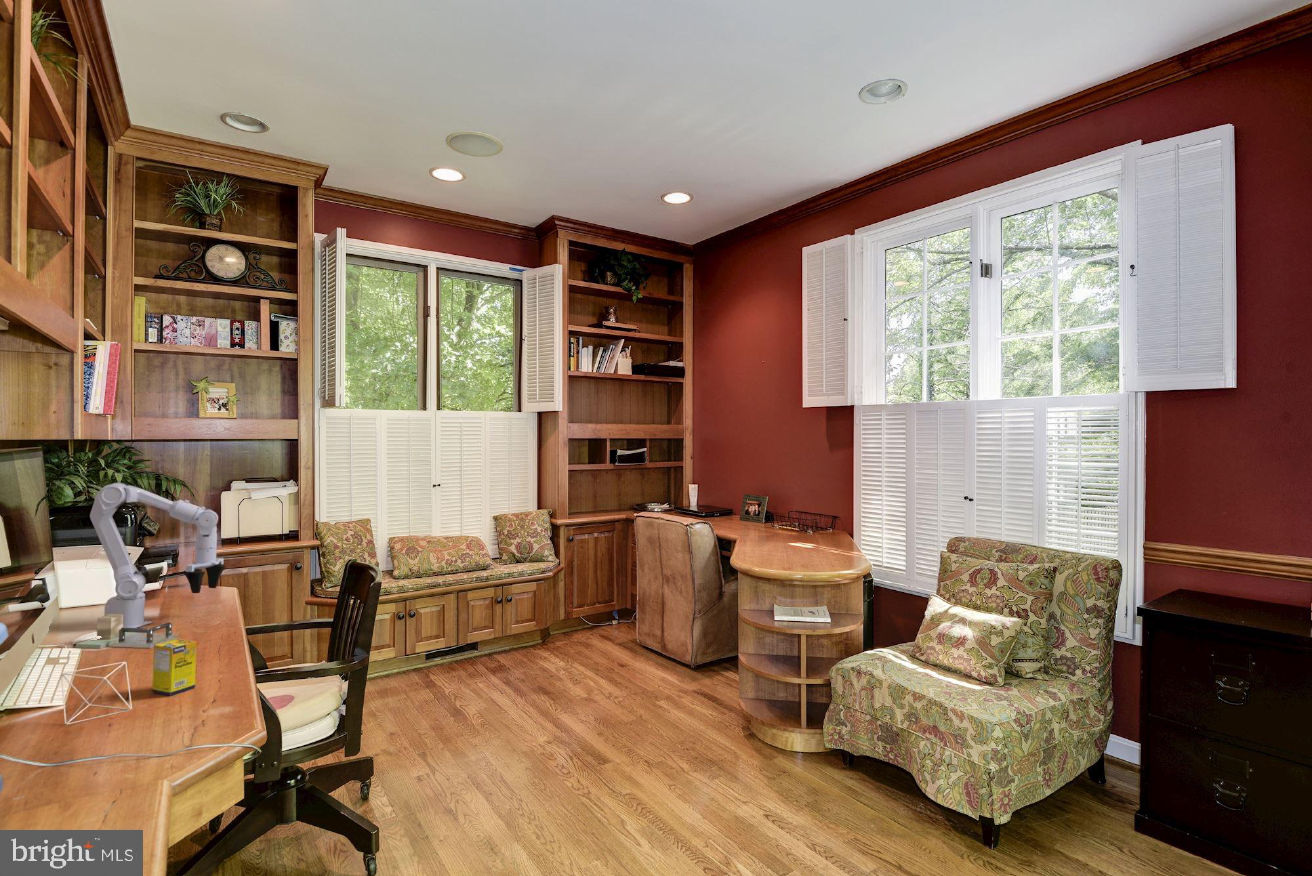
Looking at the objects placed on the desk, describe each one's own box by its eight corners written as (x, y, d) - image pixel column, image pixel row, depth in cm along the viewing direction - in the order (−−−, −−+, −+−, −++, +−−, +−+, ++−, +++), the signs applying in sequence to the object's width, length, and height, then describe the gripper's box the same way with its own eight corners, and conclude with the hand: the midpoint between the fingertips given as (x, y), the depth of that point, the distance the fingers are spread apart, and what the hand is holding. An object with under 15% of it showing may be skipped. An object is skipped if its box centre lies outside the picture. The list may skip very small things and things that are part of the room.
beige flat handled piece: (108, 646, 185) (109, 629, 186) (137, 636, 195) (138, 620, 196) (150, 648, 185) (151, 630, 185) (177, 638, 195) (178, 621, 195)
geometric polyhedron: (141, 701, 148) (143, 659, 149) (121, 720, 138) (123, 675, 138) (72, 707, 144) (73, 664, 144) (45, 727, 134) (47, 681, 134)
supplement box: (195, 688, 157) (197, 641, 157) (169, 696, 151) (171, 647, 151) (177, 684, 159) (179, 638, 159) (151, 692, 153) (153, 644, 153)
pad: (75, 647, 184) (75, 643, 184) (118, 633, 198) (118, 630, 198) (100, 648, 183) (100, 644, 184) (141, 634, 197) (141, 631, 198)
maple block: (110, 639, 189) (111, 618, 189) (96, 639, 189) (97, 617, 189) (122, 635, 193) (123, 614, 193) (108, 635, 193) (109, 614, 193)
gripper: (202, 551, 208) (200, 595, 208) (233, 545, 223) (231, 586, 223) (179, 551, 209) (178, 594, 208) (212, 544, 223) (210, 585, 223)
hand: (204, 590), depth 215 cm, fingers open, 7 cm apart
